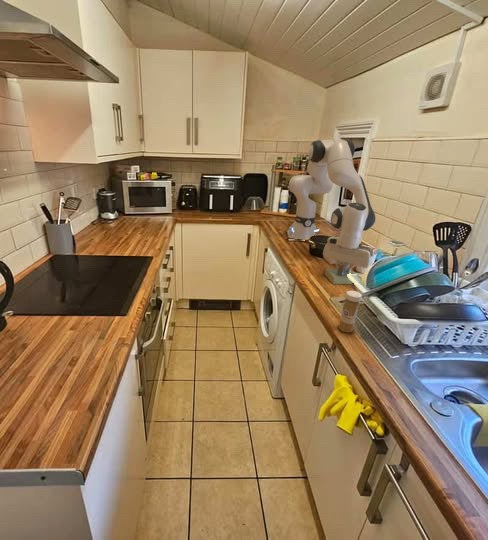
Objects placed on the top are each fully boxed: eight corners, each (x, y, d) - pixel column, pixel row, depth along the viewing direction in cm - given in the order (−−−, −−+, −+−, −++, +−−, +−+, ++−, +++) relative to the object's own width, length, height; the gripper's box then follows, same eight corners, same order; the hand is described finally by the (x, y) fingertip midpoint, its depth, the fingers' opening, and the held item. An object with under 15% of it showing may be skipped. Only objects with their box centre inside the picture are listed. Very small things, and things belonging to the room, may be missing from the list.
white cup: (374, 275, 142) (379, 255, 138) (356, 273, 143) (361, 253, 139) (369, 268, 149) (374, 250, 145) (352, 267, 150) (357, 248, 146)
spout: (344, 270, 139) (345, 261, 137) (348, 271, 138) (350, 262, 136) (337, 275, 133) (339, 266, 132) (341, 276, 132) (343, 267, 130)
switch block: (322, 257, 162) (324, 250, 161) (340, 257, 163) (342, 250, 161) (330, 264, 153) (331, 257, 152) (349, 264, 154) (350, 257, 152)
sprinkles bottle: (336, 329, 99) (344, 293, 94) (341, 323, 103) (349, 288, 97) (350, 334, 97) (359, 298, 91) (354, 329, 100) (364, 293, 95)
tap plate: (323, 273, 142) (324, 267, 141) (348, 273, 143) (349, 267, 141) (333, 285, 131) (335, 278, 129) (361, 285, 131) (362, 278, 130)
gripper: (377, 245, 125) (369, 275, 131) (330, 235, 138) (324, 263, 143) (372, 249, 121) (365, 280, 126) (324, 238, 133) (319, 266, 139)
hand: (343, 271), depth 135 cm, fingers open, 3 cm apart
